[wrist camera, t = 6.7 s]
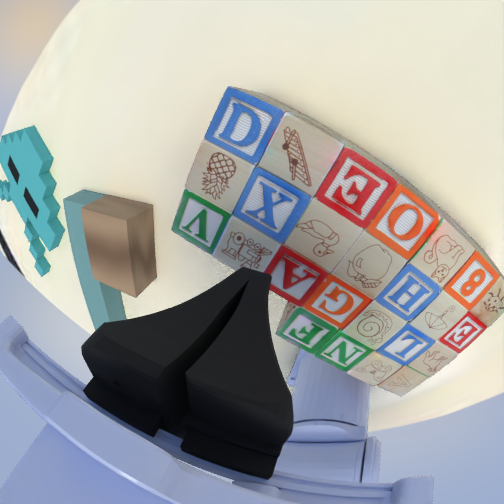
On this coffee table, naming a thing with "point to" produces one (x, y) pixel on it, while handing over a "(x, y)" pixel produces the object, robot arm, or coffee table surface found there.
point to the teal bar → (95, 292)
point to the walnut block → (120, 243)
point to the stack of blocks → (338, 243)
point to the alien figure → (31, 190)
